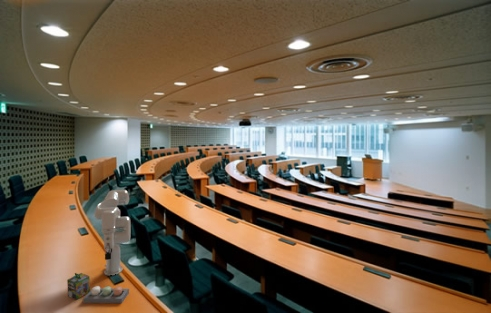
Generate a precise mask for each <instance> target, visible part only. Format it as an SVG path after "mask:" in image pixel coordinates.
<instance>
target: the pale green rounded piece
mask: <svg viewBox="0 0 491 313" xmlns="http://www.w3.org/2000/svg"><path fill="white" fill-rule="evenodd" d="M111 289H112V287H111V286H104V287H103V296H106V297H109V296H110V295H111Z"/></svg>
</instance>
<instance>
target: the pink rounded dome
mask: <svg viewBox="0 0 491 313" xmlns="http://www.w3.org/2000/svg"><path fill="white" fill-rule="evenodd" d="M113 289H114V297H120V296H121V295H122V289H123V287H122V286H119V285H118V286H116V287H114V288H113Z"/></svg>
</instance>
